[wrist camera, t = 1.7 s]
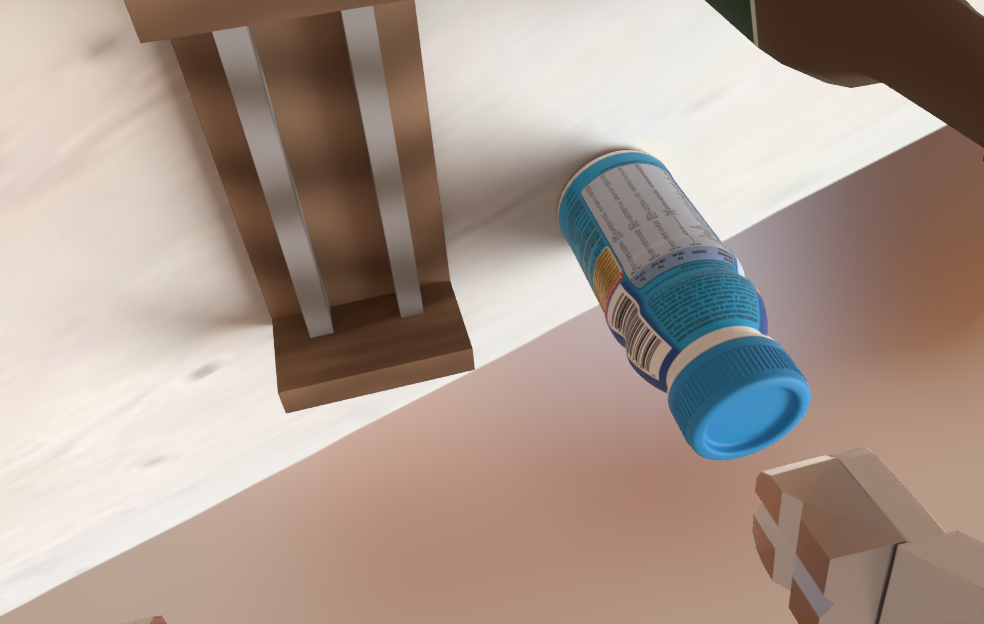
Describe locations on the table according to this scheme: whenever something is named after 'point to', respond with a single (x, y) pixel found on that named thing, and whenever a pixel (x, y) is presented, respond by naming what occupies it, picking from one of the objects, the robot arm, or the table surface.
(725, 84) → the table surface
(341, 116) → the door track
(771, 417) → the beverage bottle
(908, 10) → the beer bottle
